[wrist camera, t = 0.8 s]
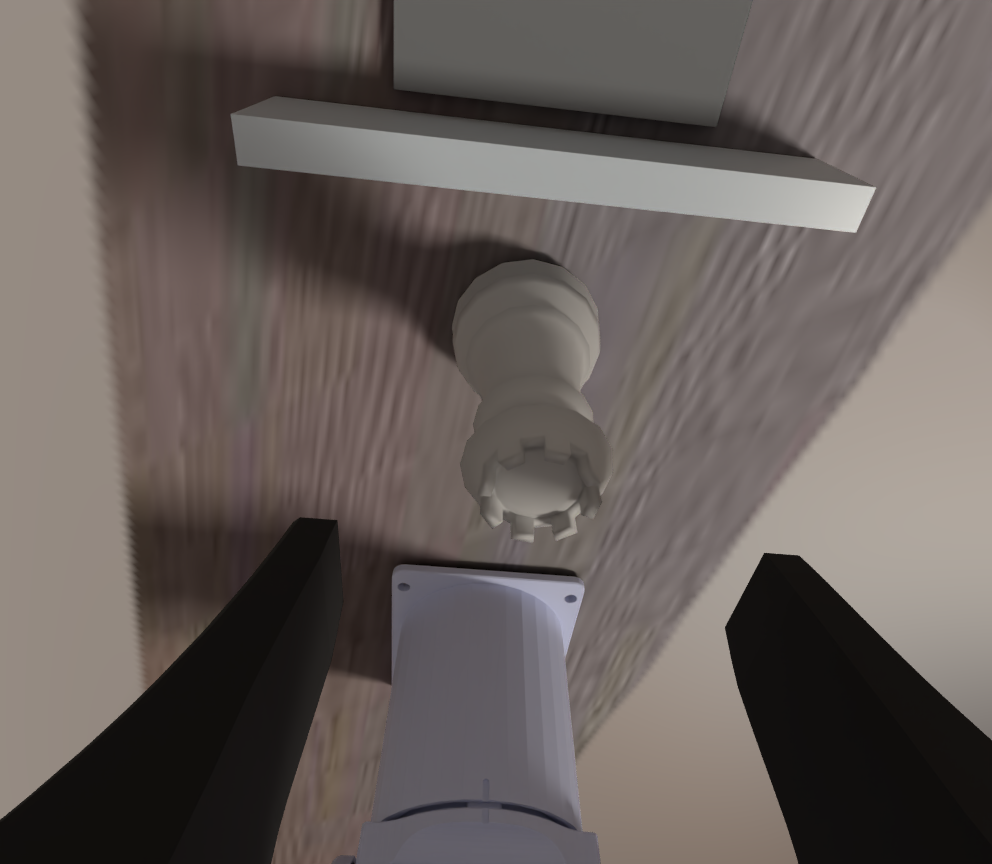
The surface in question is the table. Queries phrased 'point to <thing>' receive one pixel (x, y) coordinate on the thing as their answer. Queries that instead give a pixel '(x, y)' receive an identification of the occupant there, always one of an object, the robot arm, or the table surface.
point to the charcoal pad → (574, 53)
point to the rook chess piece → (531, 398)
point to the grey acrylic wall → (546, 163)
